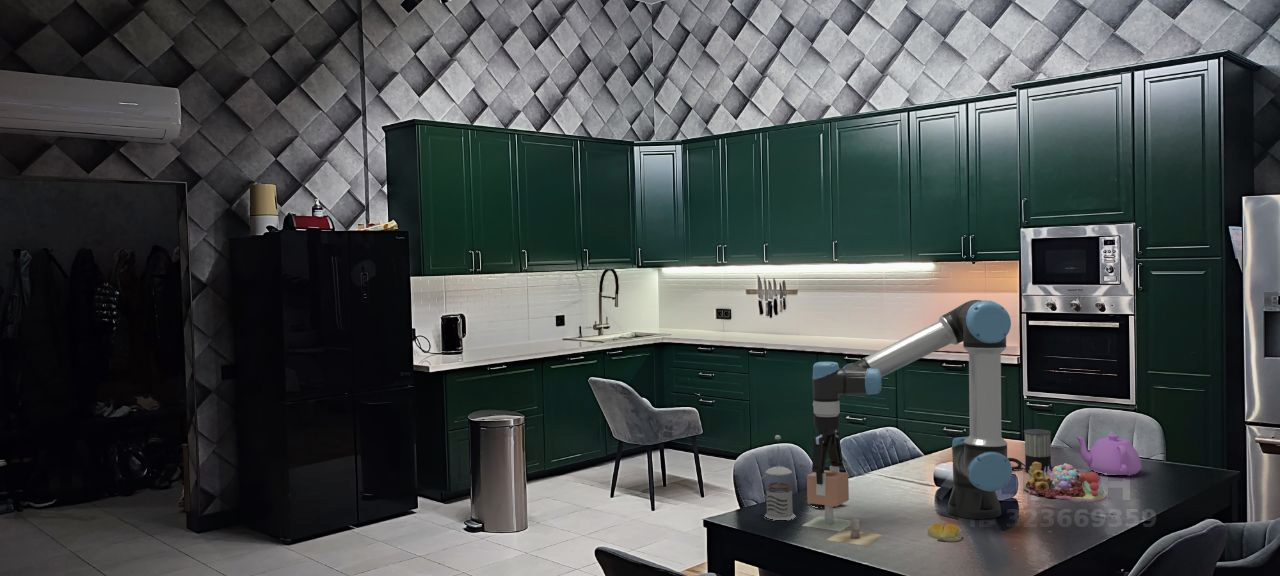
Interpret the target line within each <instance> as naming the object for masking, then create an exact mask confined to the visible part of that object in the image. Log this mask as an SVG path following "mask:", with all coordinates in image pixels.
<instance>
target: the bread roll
mask: <svg viewBox="0 0 1280 576" xmlns="http://www.w3.org/2000/svg"><path fill="white" fill-rule="evenodd" d="M963 534H964V533H963V530H962V529H961V528H960V527H959V526H957V525H956V524H953V523H948V524H946V525H945V524H943V523H940V522H939V523H938V522H937V523H934V524H931V525H930V526H929V527H928V529H927V536H929V537H930V538H933V539H937V541H938V542H942V541H944V542H947V543H948V542H949V543H952V542H953V543H954V542H959V541H960V540H962V538H963Z"/></svg>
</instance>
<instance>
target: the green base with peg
mask: <svg viewBox="0 0 1280 576" xmlns="http://www.w3.org/2000/svg"><path fill="white" fill-rule="evenodd" d="M801 526H802V527H809V528H816V529H823V530H830V531H836V532H840V531H842V530H843V529H844V530H846V529H847V528H849V527H850V519H841V518H834V506H828V505H825V507H824V516H821V515H820V516H819V515H818V516H816V517H815V518H813V519H811V520H809V521H808V522H805V523H804V524H802V525H801Z"/></svg>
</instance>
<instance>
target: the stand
mask: <svg viewBox="0 0 1280 576" xmlns="http://www.w3.org/2000/svg"><path fill="white" fill-rule="evenodd" d="M849 520H850V526H849V527H850V530H849V529H843V530H842V531H837V532H836V533H835V534H833V535H832V536H830V537H828V538H827V539H825V540H826V541H830V542H837V543H842V544H843V543H844V544H849V545H857V546H863V547H869V546H871V545H872V544H874V543H875V542H876V541H878V540H879V539H881V538H882V537H884V535H885V534H884V535H883V534H877V533H871V532H870V533H869V532H864V531H860V518H855V517H854V518H850V519H849Z"/></svg>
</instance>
